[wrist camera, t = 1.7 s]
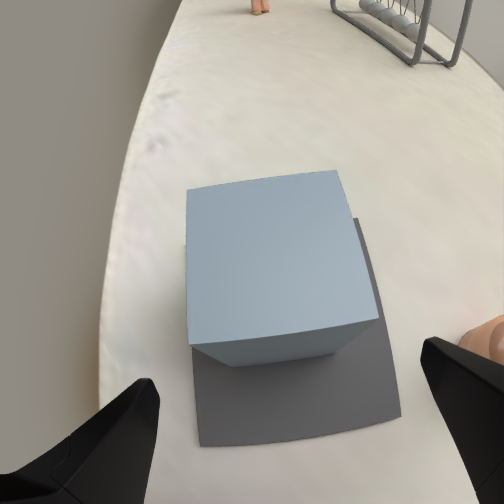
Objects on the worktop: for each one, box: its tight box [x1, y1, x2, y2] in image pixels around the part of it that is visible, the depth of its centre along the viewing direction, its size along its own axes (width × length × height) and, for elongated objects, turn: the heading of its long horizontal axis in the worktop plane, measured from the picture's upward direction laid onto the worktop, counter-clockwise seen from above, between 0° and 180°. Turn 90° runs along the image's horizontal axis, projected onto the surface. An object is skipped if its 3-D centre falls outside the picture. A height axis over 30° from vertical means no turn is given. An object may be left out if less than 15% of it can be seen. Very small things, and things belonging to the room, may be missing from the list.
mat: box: [192, 218, 401, 446], centre depth 21 cm, size 16×14×1 cm
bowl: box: [458, 315, 504, 365], centre depth 16 cm, size 5×5×4 cm
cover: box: [186, 170, 379, 367], centre depth 17 cm, size 7×7×10 cm
